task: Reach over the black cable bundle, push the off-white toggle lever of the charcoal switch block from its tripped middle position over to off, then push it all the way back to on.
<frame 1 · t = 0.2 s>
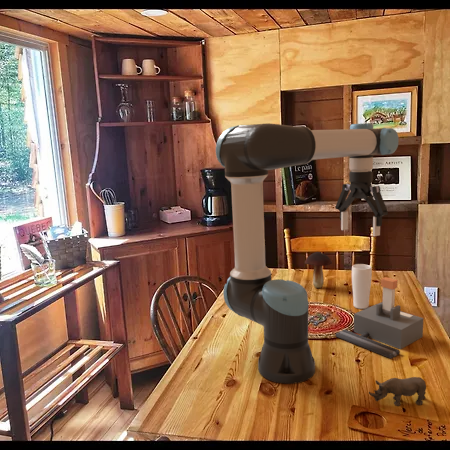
hand: (359, 232, 153), 28 cm above the table, tool pointing down, fingers open, 13 cm apart
toggle lever: (388, 297, 135), point 12 cm above the table, hinge at 0.0°
rhino figurine: (397, 402, 103), on the table
switch block: (387, 334, 137), on the table
cable bundle: (366, 345, 131), on the table
tall cup: (360, 307, 160), on the table
decorative mushroom: (318, 288, 181), on the table
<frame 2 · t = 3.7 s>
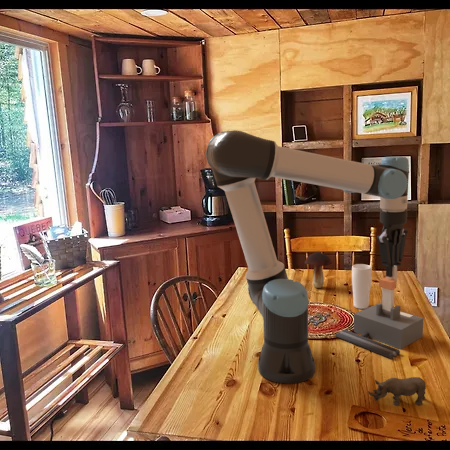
hand: (391, 286, 135), 15 cm above the table, tool pointing down, fingers closed
toggle lever: (388, 297, 135), point 12 cm above the table, hinge at -3.3°, touching gripper
everything else where it was.
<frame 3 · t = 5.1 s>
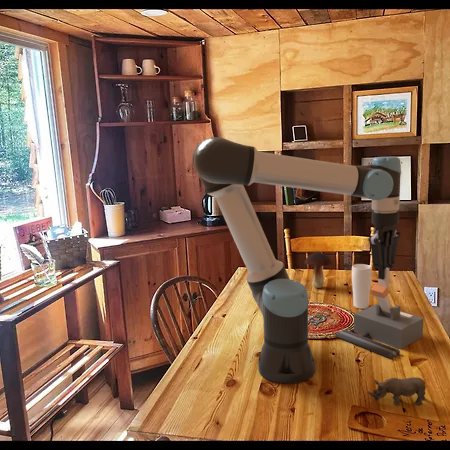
hand: (383, 288, 133), 15 cm above the table, tool pointing down, fingers closed
toggle lever: (384, 301, 133), point 11 cm above the table, hinge at -31.7°, touching gripper
everything else where it was.
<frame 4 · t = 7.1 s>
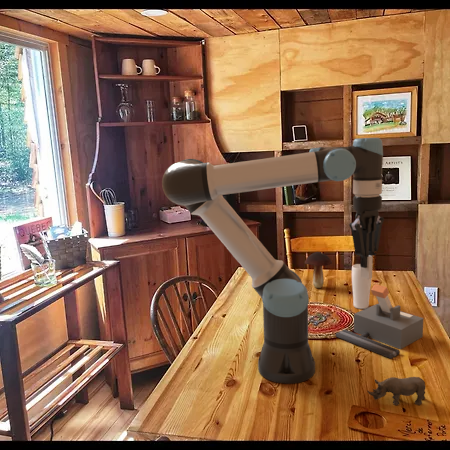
hand: (366, 277, 126), 21 cm above the table, tool pointing down, fingers closed
toggle lever: (384, 301, 133), point 11 cm above the table, hinge at -31.7°
everything else where it was.
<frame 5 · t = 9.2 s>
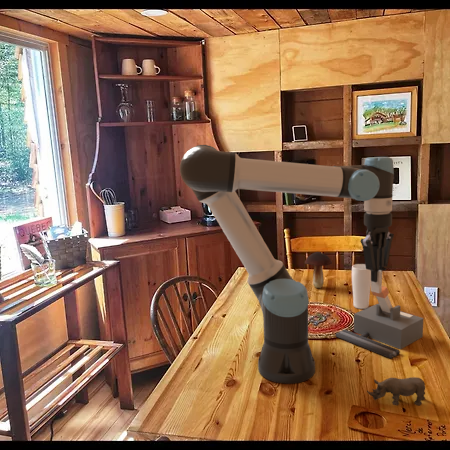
hand: (376, 291, 130), 16 cm above the table, tool pointing down, fingers closed
toggle lever: (384, 301, 133), point 11 cm above the table, hinge at -31.5°, touching gripper
everything else where it was.
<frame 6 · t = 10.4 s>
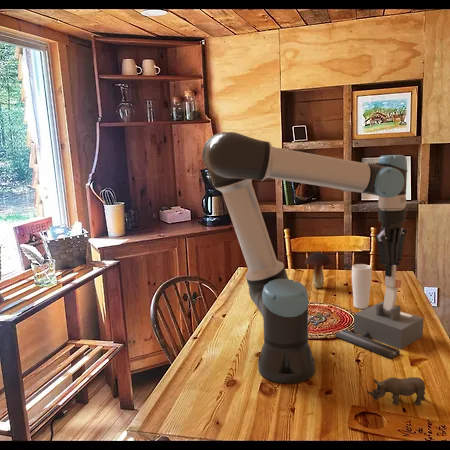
hand: (390, 285, 134), 16 cm above the table, tool pointing down, fingers closed
toggle lever: (390, 296, 135), point 12 cm above the table, hinge at 13.5°, touching gripper
everything else where it was.
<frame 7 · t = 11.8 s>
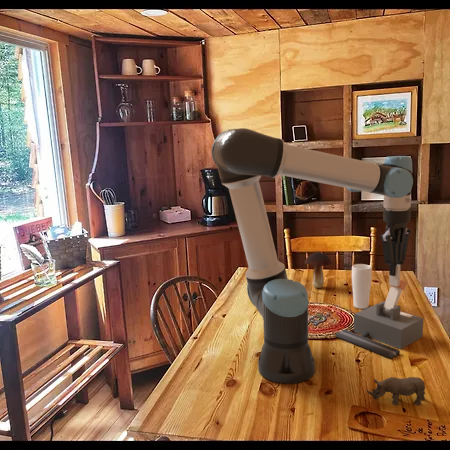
hand: (394, 284, 136), 15 cm above the table, tool pointing down, fingers closed
toggle lever: (393, 297, 136), point 11 cm above the table, hinge at 32.3°, touching gripper
everything else where it was.
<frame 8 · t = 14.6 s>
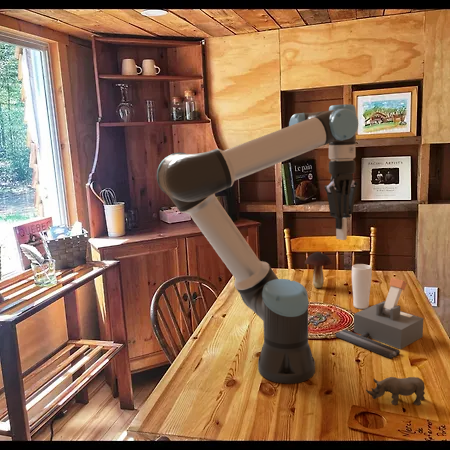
hand: (341, 238, 133), 30 cm above the table, tool pointing down, fingers closed
toggle lever: (393, 297, 136), point 11 cm above the table, hinge at 32.3°
everything else where it was.
at the end: toggle lever at +32° (first picture: +0°); tall cup moved 0.2 cm from its start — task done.
